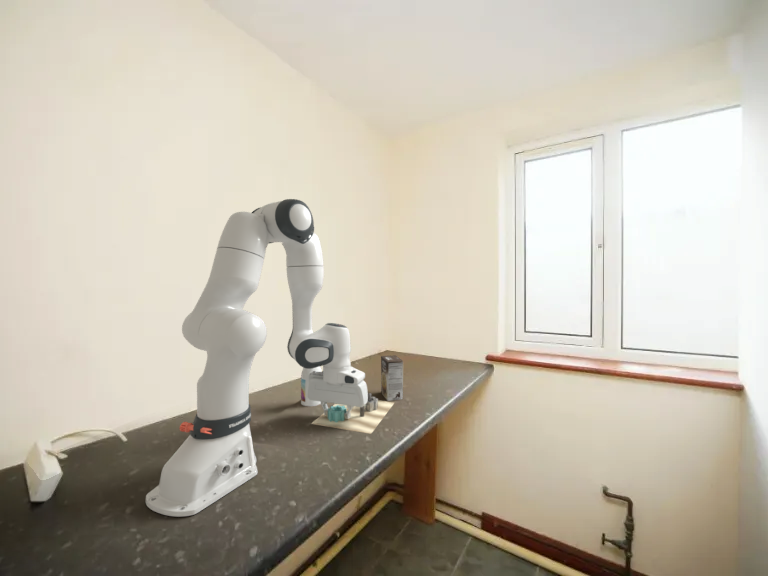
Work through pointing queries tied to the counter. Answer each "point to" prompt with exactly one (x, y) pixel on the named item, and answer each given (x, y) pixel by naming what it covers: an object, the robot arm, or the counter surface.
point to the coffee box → (392, 377)
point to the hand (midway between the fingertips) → (337, 416)
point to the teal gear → (336, 413)
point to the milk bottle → (304, 387)
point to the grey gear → (371, 404)
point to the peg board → (358, 418)
